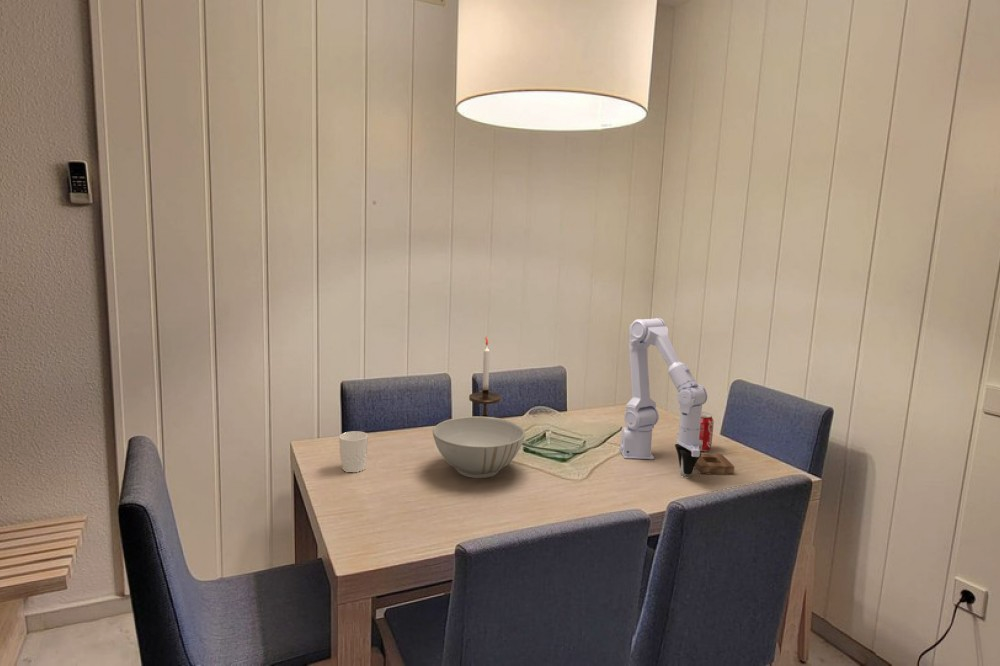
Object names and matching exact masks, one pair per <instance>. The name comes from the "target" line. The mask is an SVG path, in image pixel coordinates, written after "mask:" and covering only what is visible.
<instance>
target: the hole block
mask: <svg viewBox="0 0 1000 666" xmlns="http://www.w3.org/2000/svg"><path fill="white" fill-rule="evenodd" d="M694 469H695V470H698V471H699V472H700V473H711V474H710V475H729V474H734V475H735V465H733V464H732V462H730V461H729V460H728V459H727V458H726V457H725V456H724V454H721V453H701V456H700V457H699V459H698V460H697V462H696V464H695V466H694ZM698 471H697V472H698ZM699 472H698V473H699ZM700 473H699V474H700Z"/></svg>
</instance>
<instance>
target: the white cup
mask: <svg viewBox="0 0 1000 666" xmlns="http://www.w3.org/2000/svg"><path fill="white" fill-rule="evenodd" d="M339 452H340V460H341V470H342V469H343V470H344V471H347V472H357V473H360V472H359V471H361V472H363V471H364V469H365V470H366V466H367V464H366V463H367V456H368V433H367V432H364V431H359V430H358V431H355V430H354V431H346V432H343V433H341V434H340V435H339ZM343 470H342V471H343ZM362 470H363V471H362ZM344 471H343V472H344ZM347 472H346V473H347Z"/></svg>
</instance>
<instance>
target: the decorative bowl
mask: <svg viewBox="0 0 1000 666" xmlns="http://www.w3.org/2000/svg"><path fill="white" fill-rule="evenodd" d="M432 435H433V436H432V437H433V439H434V443H435V445H436V447H437V450H438V451H439V453H440V454H441V457H442V458H443V459H444V460H445V461H446V462H447V463H448V464H449V465H451V466H452V467H453V468H454V469H456V470H457V472H458V473H459V475H461V476H464V477H468V478H471V479H472V478H474V479H484V478H486V479H487V478H490V477H493V476H496V475H497V474H498V473H499V471H500V470H502V469H504V468H505V467H506V466H507V465H508V464H510V463H511V462H512V461H513V460H514V459H515V458H516V456H517V455H518V453H519V452H520V450H521V448H522V446H523V443H524V440H525V436H526V431H525V429H524V428H523V426H521V425H520V424H518V423H516V422H515V421H511V420H509V419H505V418H504V419H503V418H500V417H494V416H489V417H482V416H481V415H479V416H476V415H475V416H460V417H454V418H450V419H446V420H444V421H441V422H439V423H438V424H436V425H435V426H434V428H433V429H432Z"/></svg>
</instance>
